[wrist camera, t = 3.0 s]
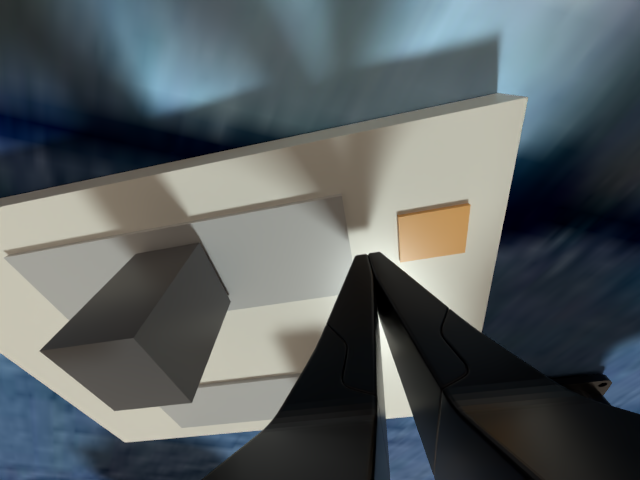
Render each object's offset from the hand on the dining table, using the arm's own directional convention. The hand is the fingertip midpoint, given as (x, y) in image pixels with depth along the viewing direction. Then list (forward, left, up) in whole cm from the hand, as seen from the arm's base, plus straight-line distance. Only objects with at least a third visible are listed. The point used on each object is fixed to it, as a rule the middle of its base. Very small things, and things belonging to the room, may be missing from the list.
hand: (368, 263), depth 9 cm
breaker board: (+7, +5, -3) cm, 9 cm away
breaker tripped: (+7, 0, -1) cm, 7 cm away
